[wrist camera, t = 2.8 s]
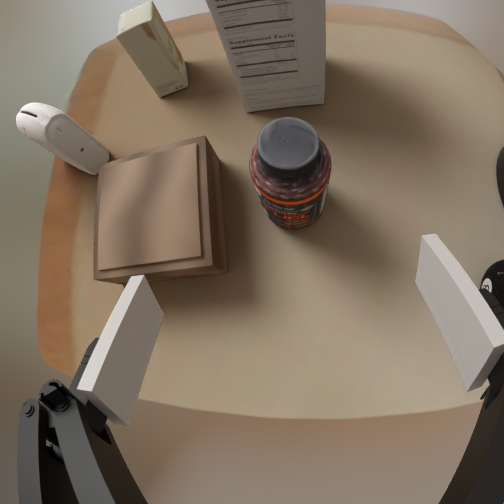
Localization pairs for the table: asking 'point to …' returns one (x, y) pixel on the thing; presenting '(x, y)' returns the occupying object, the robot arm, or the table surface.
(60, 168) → the table surface
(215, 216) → the wooden box
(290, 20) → the supplement box
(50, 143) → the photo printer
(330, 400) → the table surface
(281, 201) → the supplement bottle
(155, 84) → the skincare box
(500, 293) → the billiard ball
